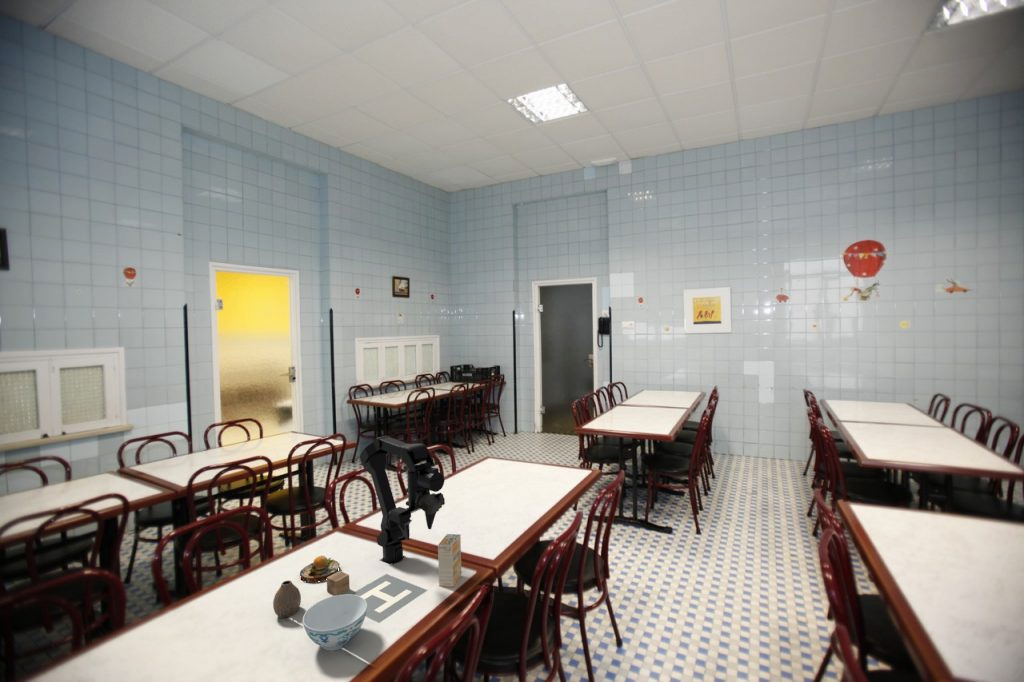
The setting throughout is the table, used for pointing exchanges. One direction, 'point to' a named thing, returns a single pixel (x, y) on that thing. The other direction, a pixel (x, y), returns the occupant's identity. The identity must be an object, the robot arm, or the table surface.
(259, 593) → the table surface
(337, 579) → the walnut block
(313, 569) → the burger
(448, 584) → the supplement box
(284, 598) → the vase
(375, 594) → the letter board
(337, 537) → the table surface
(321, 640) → the chinaware
